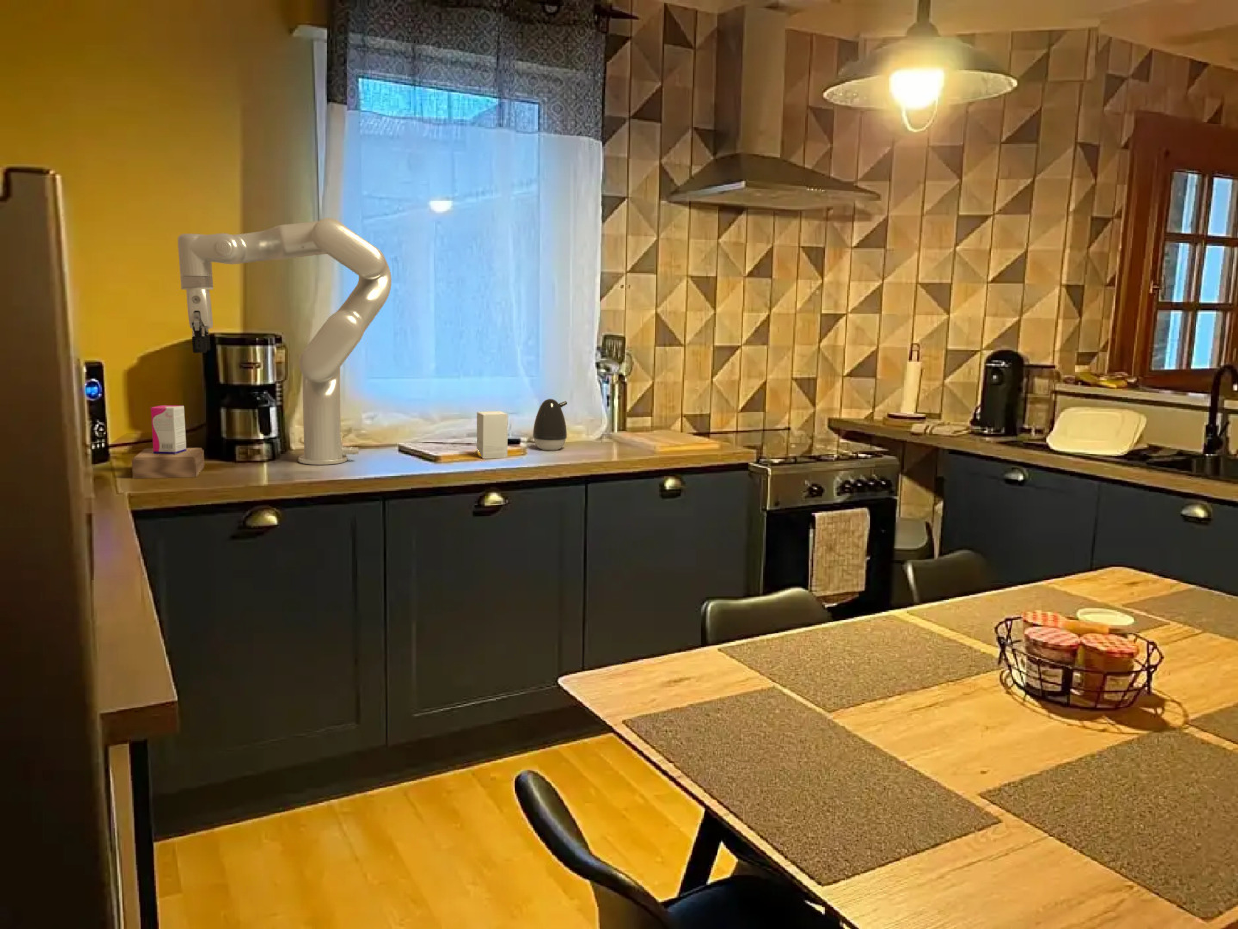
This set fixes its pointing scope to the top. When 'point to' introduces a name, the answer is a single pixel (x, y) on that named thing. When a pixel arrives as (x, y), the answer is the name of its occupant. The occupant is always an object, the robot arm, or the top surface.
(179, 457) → the block
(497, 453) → the supplement box
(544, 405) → the pump dispenser
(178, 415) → the supplement box
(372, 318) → the robot arm
